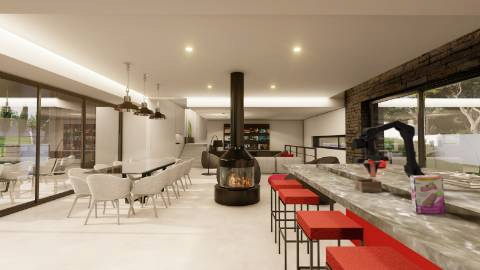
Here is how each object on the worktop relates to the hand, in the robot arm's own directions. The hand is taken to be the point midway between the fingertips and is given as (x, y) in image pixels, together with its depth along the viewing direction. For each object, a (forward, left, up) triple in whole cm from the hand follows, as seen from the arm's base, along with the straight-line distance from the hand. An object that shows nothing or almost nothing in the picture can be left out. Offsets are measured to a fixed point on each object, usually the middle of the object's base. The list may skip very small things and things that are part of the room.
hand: (372, 173), depth 156 cm
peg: (0, 0, -2) cm, 2 cm away
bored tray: (-7, -5, -12) cm, 15 cm away
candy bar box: (+31, +30, -12) cm, 44 cm away
